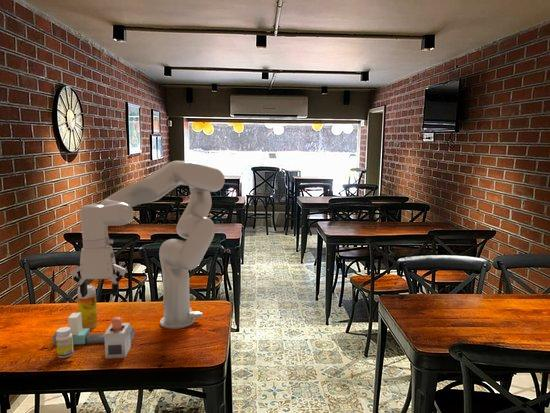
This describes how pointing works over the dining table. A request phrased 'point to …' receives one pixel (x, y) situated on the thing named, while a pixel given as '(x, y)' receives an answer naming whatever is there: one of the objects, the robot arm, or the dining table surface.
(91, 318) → the beer can
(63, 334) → the supplement bottle
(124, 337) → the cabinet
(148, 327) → the dining table surface
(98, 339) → the rail
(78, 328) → the carriage
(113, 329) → the button
